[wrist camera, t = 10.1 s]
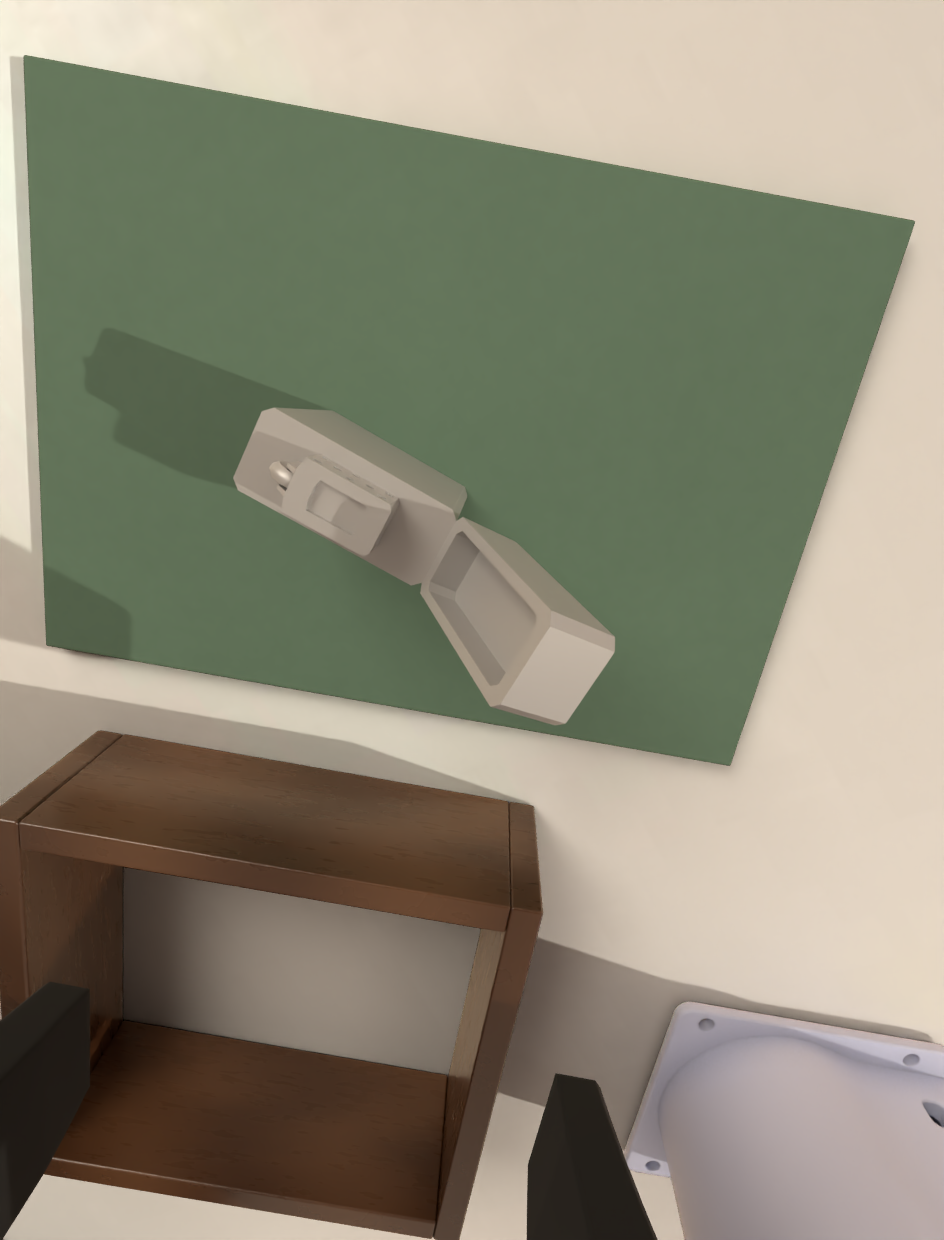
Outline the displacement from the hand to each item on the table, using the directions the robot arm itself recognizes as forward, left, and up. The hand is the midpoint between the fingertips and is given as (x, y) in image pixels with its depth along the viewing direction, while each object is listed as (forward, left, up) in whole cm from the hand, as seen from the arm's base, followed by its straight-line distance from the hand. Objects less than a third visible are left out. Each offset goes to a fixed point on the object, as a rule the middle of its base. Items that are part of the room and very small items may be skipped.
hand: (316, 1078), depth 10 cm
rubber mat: (+1, -9, -10) cm, 13 cm away
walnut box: (+3, +7, -10) cm, 13 cm away
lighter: (0, -8, -10) cm, 12 cm away
